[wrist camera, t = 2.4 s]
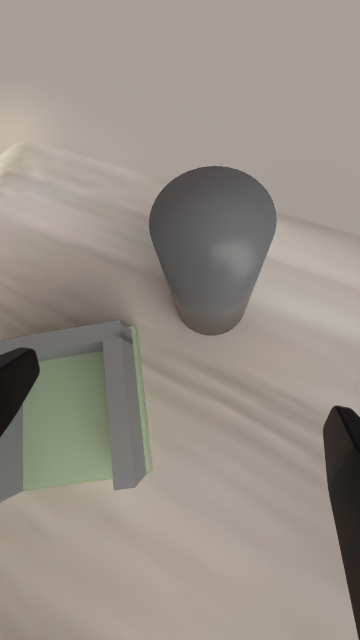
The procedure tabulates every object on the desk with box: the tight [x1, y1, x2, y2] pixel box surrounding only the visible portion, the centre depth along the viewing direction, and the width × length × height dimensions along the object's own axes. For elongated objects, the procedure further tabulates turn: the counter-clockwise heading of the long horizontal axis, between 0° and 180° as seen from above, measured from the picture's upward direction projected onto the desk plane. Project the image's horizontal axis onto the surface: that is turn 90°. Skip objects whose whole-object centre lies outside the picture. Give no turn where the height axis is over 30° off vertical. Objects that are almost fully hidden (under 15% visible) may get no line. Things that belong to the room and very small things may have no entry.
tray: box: [0, 320, 152, 502], centre depth 20 cm, size 10×10×4 cm
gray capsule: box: [149, 166, 276, 335], centre depth 17 cm, size 5×5×11 cm
